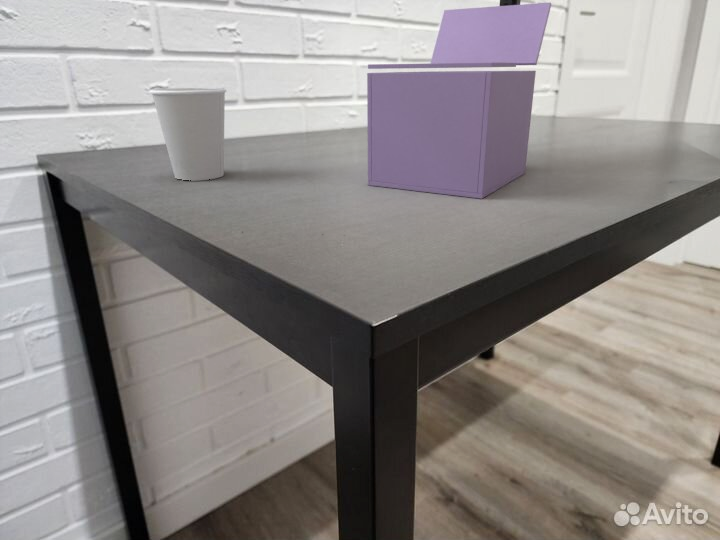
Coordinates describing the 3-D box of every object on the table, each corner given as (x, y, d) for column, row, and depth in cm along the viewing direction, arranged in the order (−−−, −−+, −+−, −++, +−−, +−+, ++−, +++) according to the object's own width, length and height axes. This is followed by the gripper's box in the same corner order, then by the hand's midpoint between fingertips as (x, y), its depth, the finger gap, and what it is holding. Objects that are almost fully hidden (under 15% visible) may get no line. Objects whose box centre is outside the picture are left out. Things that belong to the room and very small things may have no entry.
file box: (426, 164, 68) (430, 64, 64) (525, 173, 62) (536, 62, 57) (367, 185, 56) (366, 64, 52) (482, 199, 50) (492, 62, 45)
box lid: (429, 64, 63) (430, 66, 64) (535, 63, 57) (536, 65, 57) (444, 9, 64) (445, 11, 64) (551, 2, 58) (551, 4, 58)
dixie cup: (189, 168, 67) (178, 87, 63) (246, 171, 65) (239, 87, 61) (147, 181, 59) (132, 90, 56) (211, 184, 57) (200, 90, 54)
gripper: (541, -175, 52) (523, 14, 59) (569, -135, 63) (551, 22, 69) (471, -158, 56) (461, 18, 62) (508, -123, 66) (496, 24, 73)
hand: (508, 19), depth 66 cm, fingers closed
